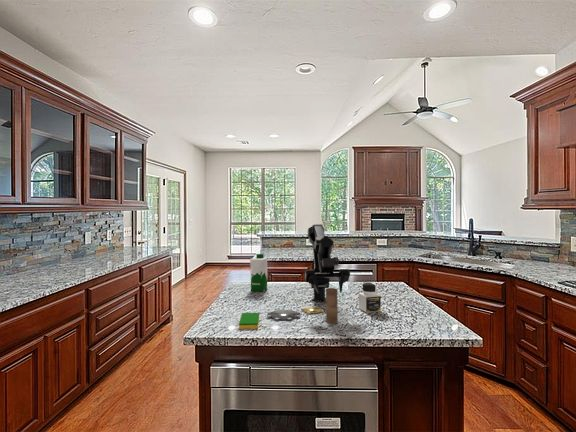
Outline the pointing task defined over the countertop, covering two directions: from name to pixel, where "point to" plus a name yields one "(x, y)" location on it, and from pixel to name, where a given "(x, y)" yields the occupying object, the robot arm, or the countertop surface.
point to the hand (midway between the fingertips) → (329, 292)
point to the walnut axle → (331, 306)
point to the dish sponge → (249, 321)
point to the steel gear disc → (283, 315)
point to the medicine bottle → (369, 298)
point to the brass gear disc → (312, 310)
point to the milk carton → (258, 273)
